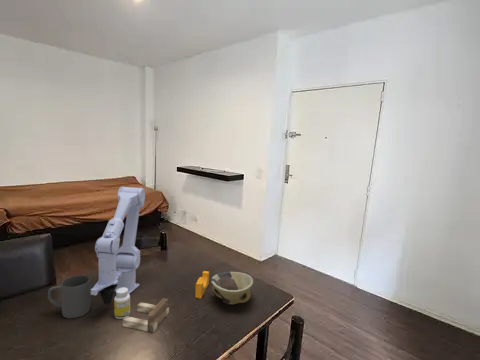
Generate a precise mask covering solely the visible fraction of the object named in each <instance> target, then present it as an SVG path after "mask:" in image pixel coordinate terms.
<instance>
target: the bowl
mask: <svg viewBox="0 0 480 360" xmlns="http://www.w3.org/2000/svg"><path fill="white" fill-rule="evenodd" d="M210 282H211V285H212V287H211V288H212V292H213V293H214V295H215V296H216V297H217V298H219V299H221V301H222V303H224V304H226V305H236V304H242V303H247V302H248V301H249V300H250V299H251V296H252V295H251V290H250V289H251V288H252V287H253V284H254V278H253V277H252V276H251V275H249V274H247V273H244V272H239V271H224V272H223V271H222V272H220V273H216V274H215V275H213V276H212V277H211V278H210ZM245 294H246V295H245ZM244 295H245V297H243V296H244Z"/></svg>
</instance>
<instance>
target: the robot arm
mask: <svg viewBox="0 0 480 360" xmlns="http://www.w3.org/2000/svg"><path fill="white" fill-rule="evenodd" d="M145 200H146V191H145V189H144V188H143V187H131V186H130V187H129V186H119V189H118V190H117V201H118V203H117V207H116V210H115V212H114V216H113V217H112V218H111V219H109V220H108V222H107V224H106V227H105V229H104V231H103V234H102V236H100V237H99V238H97V240H96V242H95V245H94V251H95V252H96V258H98V281H97V282H96V283H95V284H94V286H93V287H92V288H90V296H97V295H98V293H99V295H100V296H101V299H102V301H103V304H104V305H108V306H109V305H110V304H112V300H113V296H114V293H115V292H116V291H117V289H119V288H123V287H125V288H127V289H128V294H129V295H130V294H131V293H132V292H133V291H135V290H136V289H137V288H138V287H140V283H138V282H137V283H136V276H137V275H136V270H137V269H138V268H139V267H140V264H141V250H140V249H139V248H138V247H136V245H135V244H136V238H137V231H138V224H139V218H140V217H139V216H140V211H141V208H143V207H144V205H145ZM125 218H126V219H125ZM124 220H125V223H124ZM123 230H124V232H123V238H122V245H121V246H120V241H121V238H120V237H121V234H122V231H123Z"/></svg>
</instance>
